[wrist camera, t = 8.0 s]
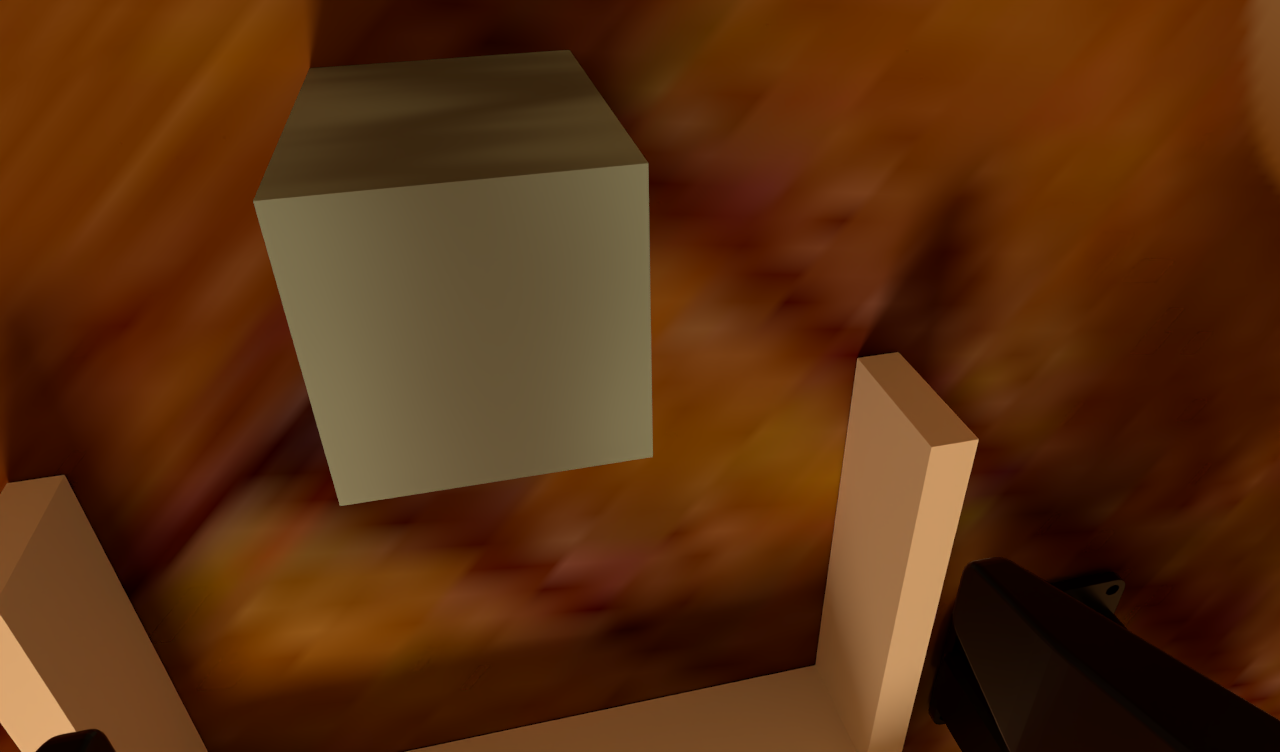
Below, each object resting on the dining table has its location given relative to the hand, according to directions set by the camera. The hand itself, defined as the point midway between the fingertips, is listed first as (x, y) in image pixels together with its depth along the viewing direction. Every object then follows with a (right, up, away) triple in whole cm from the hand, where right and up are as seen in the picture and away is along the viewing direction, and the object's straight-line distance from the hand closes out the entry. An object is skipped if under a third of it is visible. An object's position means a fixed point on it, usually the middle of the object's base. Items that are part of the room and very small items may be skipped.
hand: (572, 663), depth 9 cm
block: (-3, +7, +9) cm, 12 cm away
